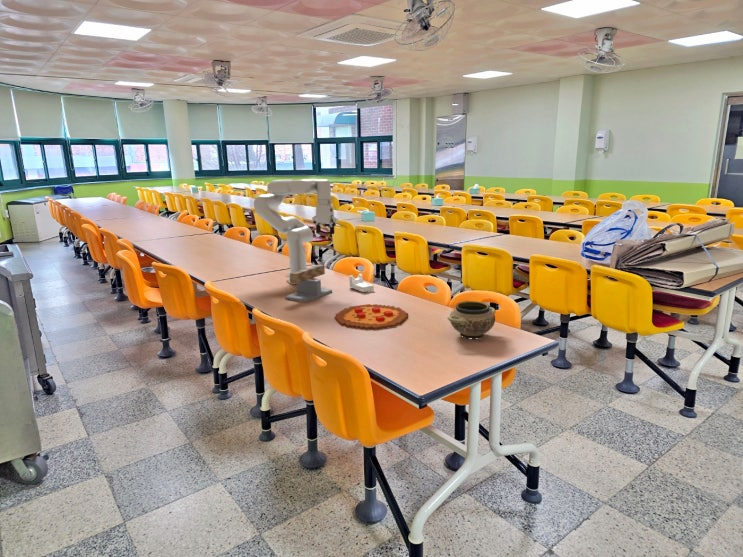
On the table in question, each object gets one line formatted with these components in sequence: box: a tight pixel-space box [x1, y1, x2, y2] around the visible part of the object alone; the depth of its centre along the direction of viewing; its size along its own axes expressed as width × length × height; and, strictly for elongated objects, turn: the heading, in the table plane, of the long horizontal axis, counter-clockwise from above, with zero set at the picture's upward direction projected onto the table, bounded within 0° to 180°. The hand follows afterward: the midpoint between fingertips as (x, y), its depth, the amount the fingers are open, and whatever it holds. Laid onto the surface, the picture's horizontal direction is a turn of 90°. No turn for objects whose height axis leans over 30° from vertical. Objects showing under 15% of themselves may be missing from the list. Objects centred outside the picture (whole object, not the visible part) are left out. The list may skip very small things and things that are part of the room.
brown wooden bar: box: [289, 264, 326, 285], centre depth 255 cm, size 24×4×5 cm, turn 148°
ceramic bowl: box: [447, 300, 496, 340], centre depth 195 cm, size 24×18×15 cm
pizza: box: [334, 303, 409, 331], centre depth 221 cm, size 32×32×3 cm
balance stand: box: [284, 277, 333, 303], centre depth 257 cm, size 14×22×10 cm, turn 148°
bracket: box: [348, 273, 374, 293], centre depth 267 cm, size 13×7×8 cm, turn 36°
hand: (325, 233), depth 270 cm, fingers open, 9 cm apart
